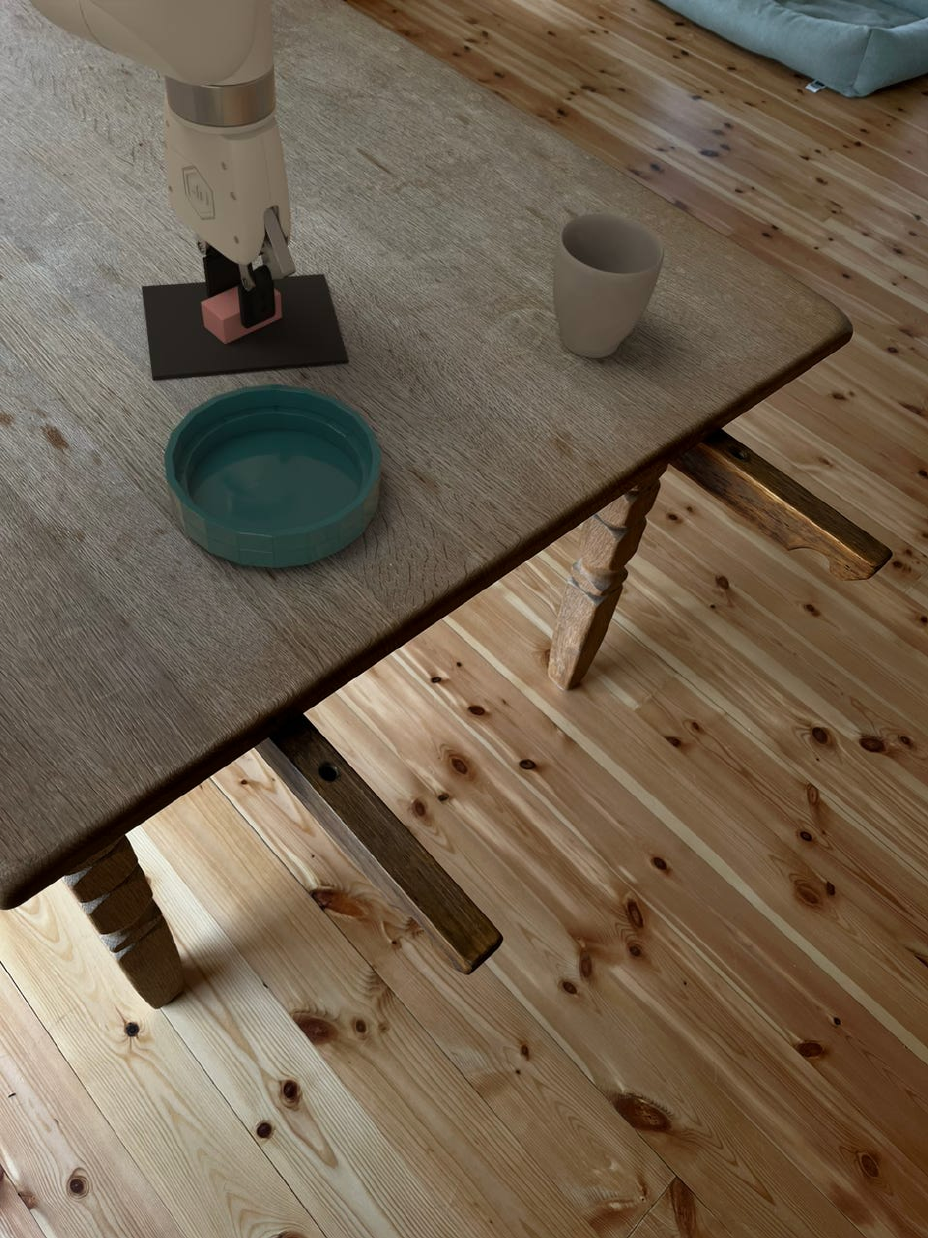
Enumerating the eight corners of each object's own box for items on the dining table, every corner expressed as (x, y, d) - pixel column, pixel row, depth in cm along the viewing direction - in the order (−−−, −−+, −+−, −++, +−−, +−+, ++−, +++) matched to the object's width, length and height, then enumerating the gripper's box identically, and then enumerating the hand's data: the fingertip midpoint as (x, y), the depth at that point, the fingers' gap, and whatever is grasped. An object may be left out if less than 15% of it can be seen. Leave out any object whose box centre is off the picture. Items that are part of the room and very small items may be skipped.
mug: (649, 369, 88) (679, 273, 81) (553, 373, 87) (573, 276, 79) (614, 285, 95) (637, 190, 88) (523, 287, 94) (540, 191, 86)
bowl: (182, 586, 69) (174, 548, 66) (164, 434, 78) (156, 394, 75) (397, 557, 73) (400, 520, 70) (357, 414, 81) (358, 376, 78)
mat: (152, 380, 81) (151, 376, 81) (142, 289, 88) (141, 285, 88) (348, 363, 85) (348, 359, 85) (324, 277, 92) (324, 273, 91)
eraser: (225, 344, 84) (222, 319, 82) (203, 326, 85) (200, 301, 83) (282, 317, 87) (281, 292, 85) (260, 300, 88) (259, 275, 86)
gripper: (106, 52, 72) (146, 275, 86) (251, 156, 65) (267, 377, 80) (194, 26, 75) (218, 244, 90) (339, 122, 69) (340, 340, 84)
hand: (241, 305), depth 85 cm, fingers open, 3 cm apart
